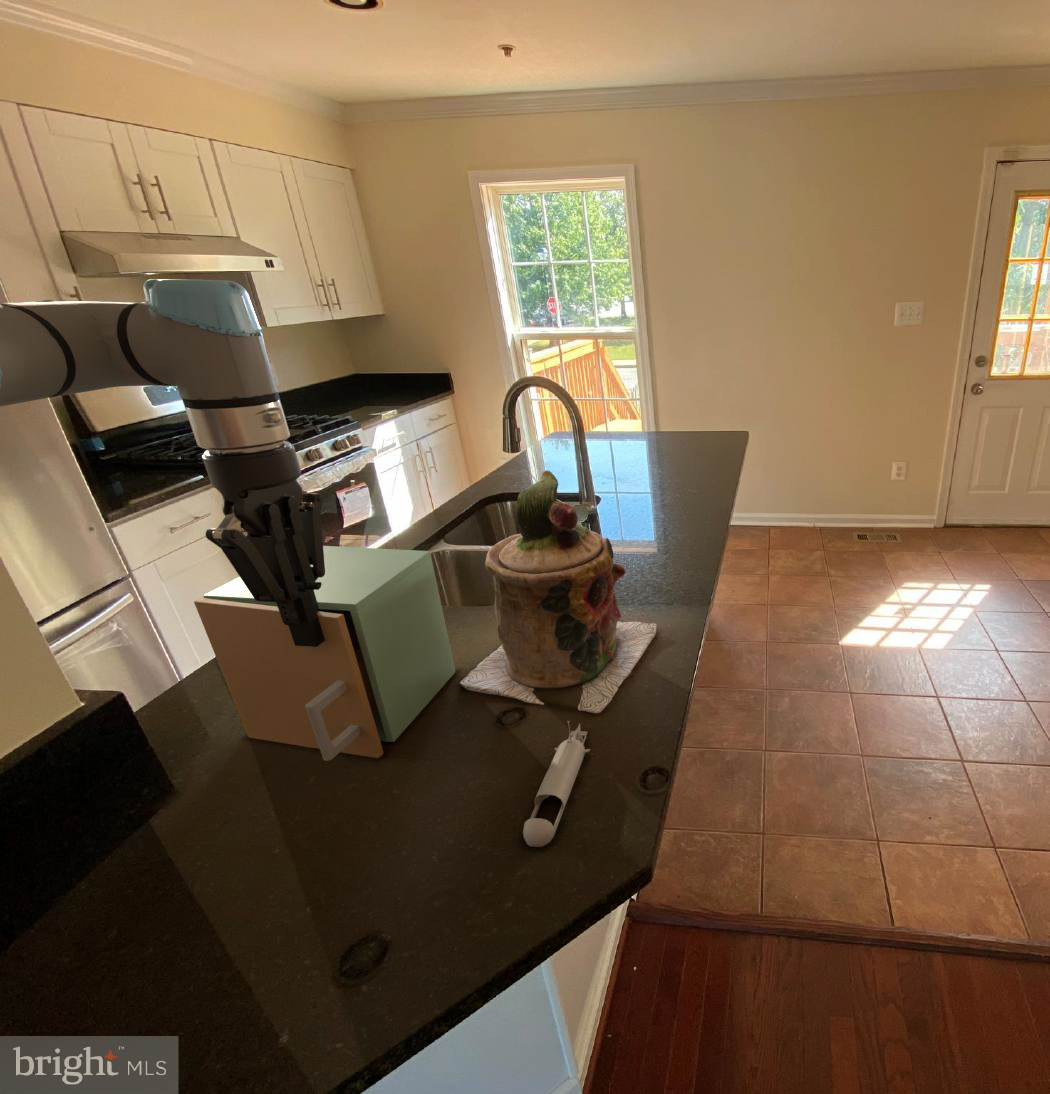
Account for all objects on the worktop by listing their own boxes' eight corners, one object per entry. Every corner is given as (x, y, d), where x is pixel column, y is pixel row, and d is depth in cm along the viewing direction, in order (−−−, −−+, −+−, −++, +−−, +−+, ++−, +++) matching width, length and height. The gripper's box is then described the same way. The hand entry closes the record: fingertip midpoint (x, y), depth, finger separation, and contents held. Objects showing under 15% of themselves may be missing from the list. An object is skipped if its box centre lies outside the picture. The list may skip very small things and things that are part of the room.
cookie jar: (454, 694, 90) (411, 495, 77) (539, 615, 112) (516, 450, 99) (603, 721, 84) (583, 512, 72) (661, 633, 106) (654, 461, 94)
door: (349, 792, 72) (299, 641, 63) (213, 769, 75) (147, 622, 67) (385, 757, 77) (343, 613, 69) (256, 736, 81) (201, 597, 72)
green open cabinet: (395, 747, 79) (355, 604, 71) (258, 736, 81) (202, 595, 72) (456, 676, 94) (430, 550, 85) (339, 668, 96) (301, 544, 87)
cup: (318, 714, 84) (298, 655, 80) (356, 680, 91) (339, 625, 87) (371, 718, 83) (354, 659, 79) (405, 684, 90) (390, 628, 86)
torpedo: (558, 855, 64) (551, 811, 62) (515, 853, 64) (507, 809, 62) (598, 740, 81) (594, 702, 78) (564, 739, 81) (559, 700, 78)
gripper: (225, 463, 54) (297, 677, 63) (328, 433, 65) (376, 617, 75) (150, 460, 54) (232, 673, 63) (265, 430, 66) (320, 613, 75)
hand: (310, 642), depth 69 cm, fingers closed
